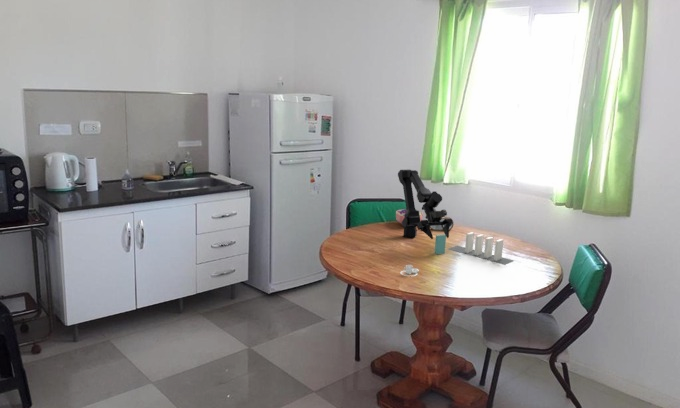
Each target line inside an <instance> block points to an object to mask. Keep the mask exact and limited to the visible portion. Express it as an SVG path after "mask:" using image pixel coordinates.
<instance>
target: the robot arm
mask: <svg viewBox="0 0 680 408" xmlns="http://www.w3.org/2000/svg"><path fill="white" fill-rule="evenodd" d="M397 177H398V181H399V183H400V184H401V185H402V188H403V194H404V203H405V209H406V212H405V215H404V217H405V218H404V219H403V221H402V224H401V226H402V227H403V235H402V238H407V239H414V238H416V237H417V232H418V231H421V232H423V233H424V234H426V236H427V237H429V238H430V239H431V240H433V239H434V237H433V232H432V231H431V230H432V229H431V228H430V226H438V225H441V226H442V227H443V231H442V232H443V233H444V235H446V239H449V237H450V230H449V227H450V226H451V225H452V224H454V220H453V219H452V217H450V218H448V219H444V221H441V222H440V220H441V219H442V217H447V216H448V212H447V210H446V209H441V210H436V208H437V207H439V204H440V203H441V202H442V201H443V196H442V194H440V193H438V192H437V191H431V190H430V189H429V188H427V187H426V186H425V185H424V183H423V180H422V179H421V177H420V176H419V172H418V170H414V169H413V170H412V169H400V170H399V171H398V173H397ZM412 185H413V186H412ZM413 187H414V189H415V190H416V198H417V201H418V203H420V204H422V203H423V204H422V207H421V210H422V211H424V213H425V219H422V220H421V221H420V215H419V211H420V210H418V211H417V209H416V206H415V199H414V193H413Z"/></svg>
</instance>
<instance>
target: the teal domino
mask: <svg viewBox="0 0 680 408" xmlns="http://www.w3.org/2000/svg"><path fill="white" fill-rule="evenodd" d="M446 241H447V237H446V235H445V234H437V235H435V242H434V243H435V244H434V254H436V255H438V254H439V255H440V254H445V253H446V243H447V242H446Z"/></svg>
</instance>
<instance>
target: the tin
mask: <svg viewBox="0 0 680 408" xmlns="http://www.w3.org/2000/svg"><path fill="white" fill-rule="evenodd" d="M448 218H451V217H449V216H445V217H442V219H441V220H440V222H441V221H444V219H448ZM453 227H454V223H453V224H452V225H451V226H450V227H449V231H451V230H452V229H453ZM430 230H432V231H442V232H444V231H443V227H442V226H441V225H438V226H430Z"/></svg>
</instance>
